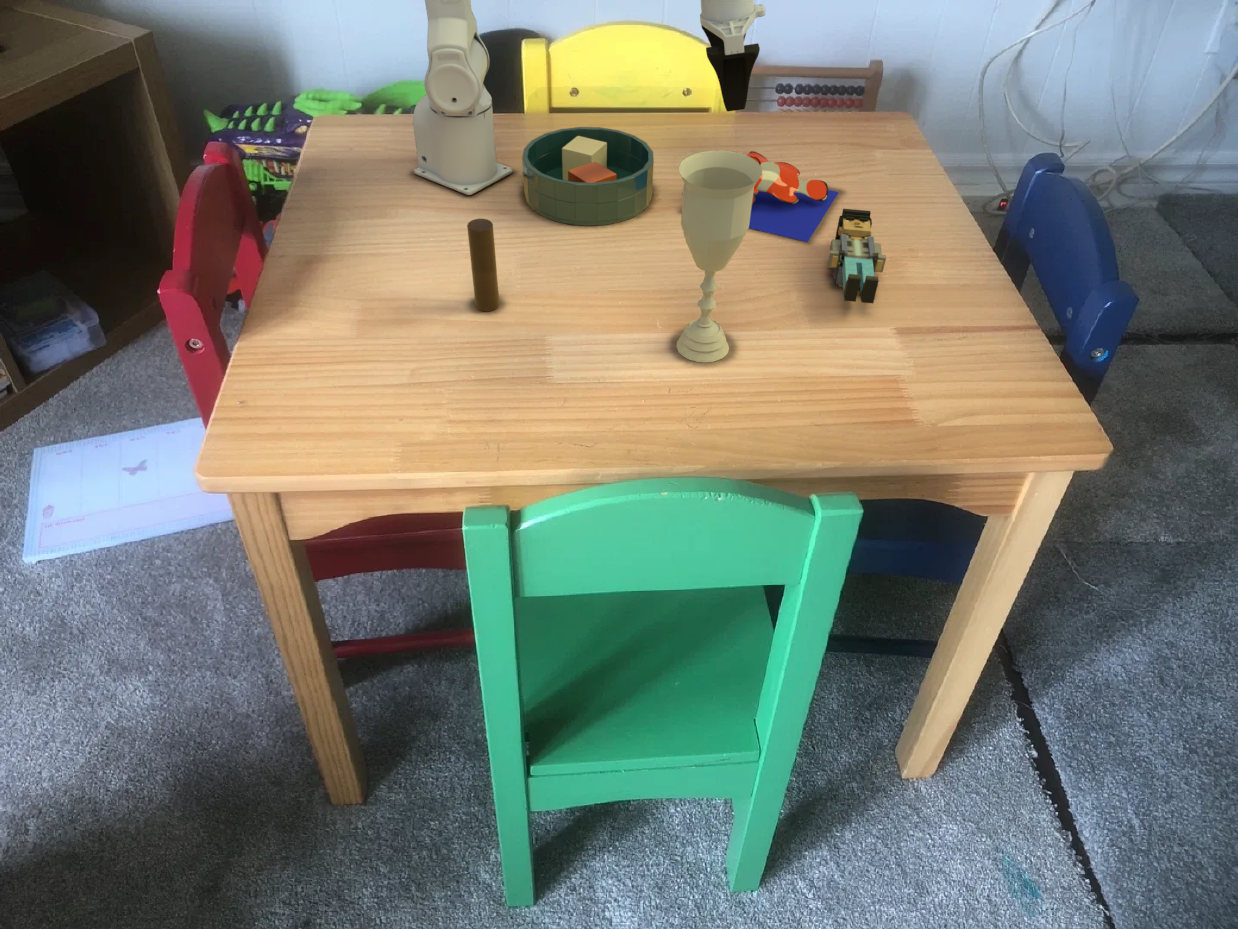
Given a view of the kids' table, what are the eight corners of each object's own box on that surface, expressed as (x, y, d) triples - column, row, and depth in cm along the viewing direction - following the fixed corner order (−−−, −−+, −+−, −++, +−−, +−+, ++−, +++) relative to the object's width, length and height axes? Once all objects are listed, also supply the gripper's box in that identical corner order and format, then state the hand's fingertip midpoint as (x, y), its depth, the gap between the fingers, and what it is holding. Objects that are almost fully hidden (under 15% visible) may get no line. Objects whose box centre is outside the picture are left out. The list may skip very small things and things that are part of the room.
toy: (834, 277, 89) (830, 203, 100) (826, 316, 92) (823, 240, 103) (893, 282, 89) (883, 208, 99) (883, 321, 92) (874, 245, 102)
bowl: (498, 198, 109) (495, 158, 105) (577, 154, 118) (577, 116, 114) (600, 239, 102) (600, 198, 99) (676, 189, 111) (678, 149, 108)
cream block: (562, 179, 111) (561, 148, 109) (578, 166, 114) (577, 135, 111) (591, 187, 110) (591, 155, 107) (606, 173, 113) (607, 142, 110)
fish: (708, 162, 105) (733, 133, 110) (704, 200, 108) (729, 171, 114) (817, 186, 101) (838, 155, 107) (810, 225, 104) (830, 193, 110)
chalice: (716, 378, 85) (737, 198, 72) (652, 353, 87) (662, 175, 75) (751, 339, 89) (776, 163, 77) (690, 316, 92) (705, 143, 79)
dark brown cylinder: (470, 306, 92) (461, 225, 86) (486, 295, 94) (479, 215, 87) (488, 314, 91) (480, 233, 85) (504, 303, 93) (498, 223, 86)
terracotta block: (568, 202, 107) (567, 170, 104) (595, 193, 109) (595, 161, 106) (588, 216, 105) (588, 183, 102) (616, 206, 107) (616, 173, 104)
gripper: (771, -17, 91) (774, 116, 100) (756, -57, 102) (760, 67, 111) (701, -6, 92) (710, 125, 101) (692, -48, 102) (702, 75, 112)
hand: (732, 95), depth 106 cm, fingers open, 7 cm apart
